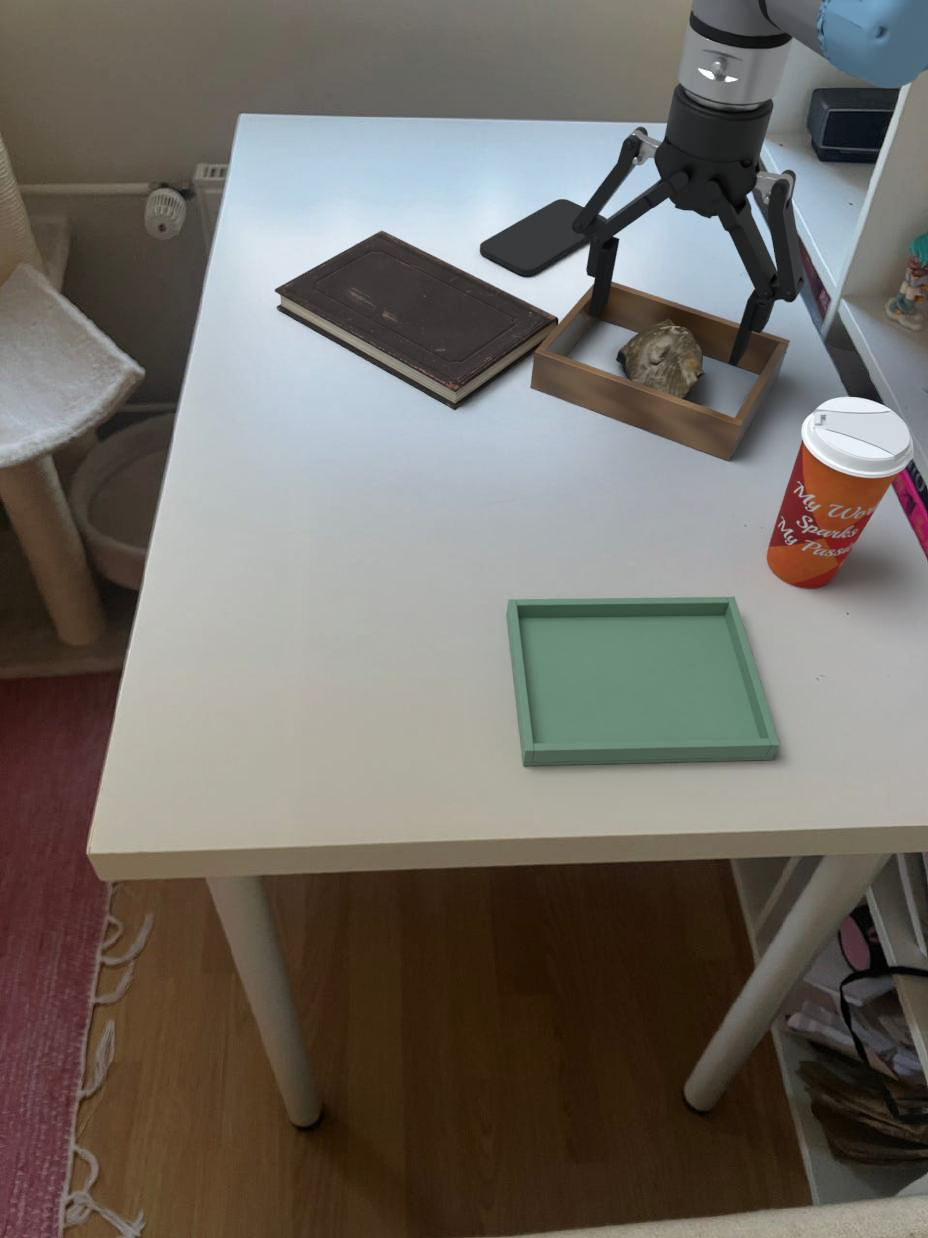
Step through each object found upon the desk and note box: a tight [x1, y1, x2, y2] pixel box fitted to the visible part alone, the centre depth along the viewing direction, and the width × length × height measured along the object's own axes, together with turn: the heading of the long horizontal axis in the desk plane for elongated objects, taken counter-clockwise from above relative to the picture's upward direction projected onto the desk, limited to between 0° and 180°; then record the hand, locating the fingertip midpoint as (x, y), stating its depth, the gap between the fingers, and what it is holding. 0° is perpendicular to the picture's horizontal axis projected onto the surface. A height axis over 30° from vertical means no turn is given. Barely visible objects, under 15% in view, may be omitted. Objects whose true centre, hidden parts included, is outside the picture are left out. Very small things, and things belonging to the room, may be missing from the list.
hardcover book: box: [274, 230, 560, 410], centre depth 99 cm, size 16×23×2 cm
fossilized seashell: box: [615, 319, 705, 400], centre depth 93 cm, size 8×7×10 cm
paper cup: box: [766, 396, 915, 589], centre depth 75 cm, size 8×8×14 cm
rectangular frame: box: [529, 281, 791, 462], centre depth 94 cm, size 20×15×4 cm
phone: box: [479, 198, 607, 277], centre depth 110 cm, size 7×1×15 cm
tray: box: [505, 596, 781, 767], centre depth 71 cm, size 17×13×2 cm
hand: (666, 332), depth 91 cm, fingers open, 13 cm apart
